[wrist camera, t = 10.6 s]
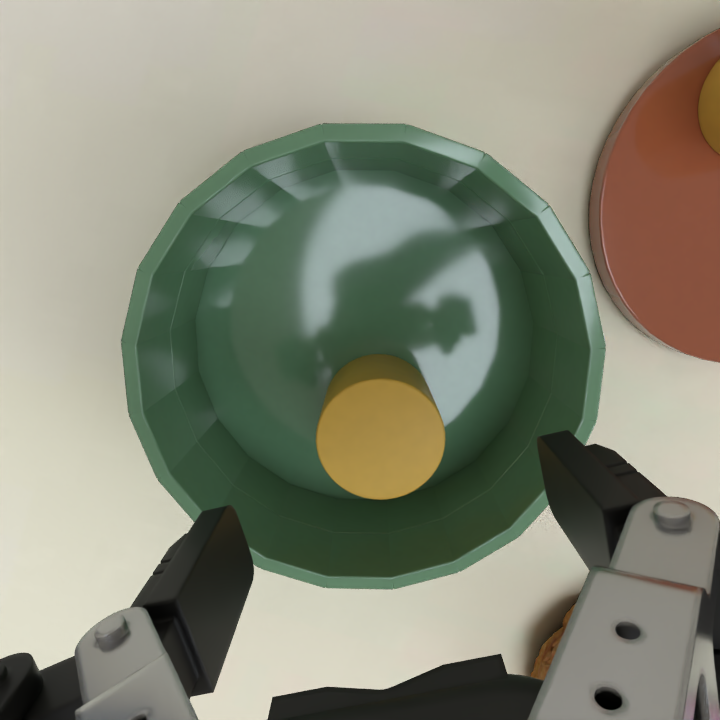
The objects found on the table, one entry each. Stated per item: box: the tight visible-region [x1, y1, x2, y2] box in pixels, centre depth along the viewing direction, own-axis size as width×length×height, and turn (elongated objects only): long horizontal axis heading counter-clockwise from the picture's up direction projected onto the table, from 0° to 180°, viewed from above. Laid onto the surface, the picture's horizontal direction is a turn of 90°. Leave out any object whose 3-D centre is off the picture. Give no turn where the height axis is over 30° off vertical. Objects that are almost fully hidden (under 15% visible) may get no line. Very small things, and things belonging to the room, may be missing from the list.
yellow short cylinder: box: [316, 354, 445, 500], centre depth 19 cm, size 5×5×4 cm
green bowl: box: [121, 123, 606, 589], centre depth 18 cm, size 15×15×6 cm
